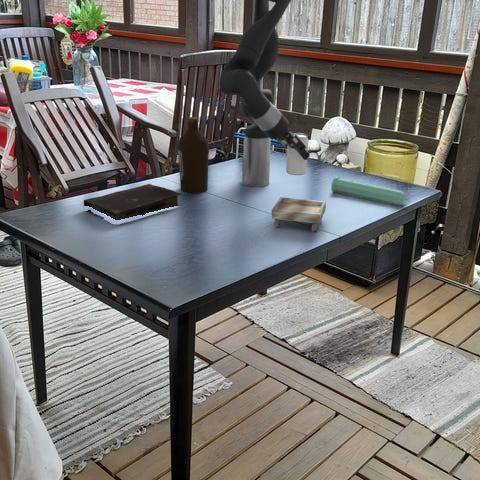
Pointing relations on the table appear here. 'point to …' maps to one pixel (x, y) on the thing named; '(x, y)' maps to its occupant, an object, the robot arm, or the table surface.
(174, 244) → the table surface
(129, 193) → the diary
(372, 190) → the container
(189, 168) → the olive oil
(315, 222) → the shallow wooden tray
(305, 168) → the can
